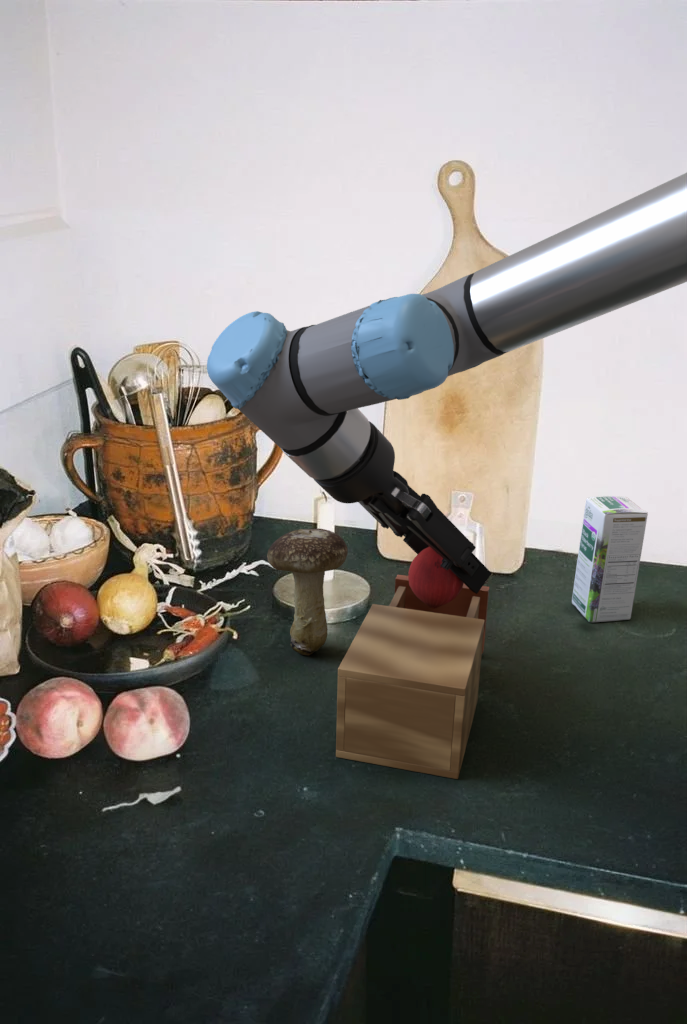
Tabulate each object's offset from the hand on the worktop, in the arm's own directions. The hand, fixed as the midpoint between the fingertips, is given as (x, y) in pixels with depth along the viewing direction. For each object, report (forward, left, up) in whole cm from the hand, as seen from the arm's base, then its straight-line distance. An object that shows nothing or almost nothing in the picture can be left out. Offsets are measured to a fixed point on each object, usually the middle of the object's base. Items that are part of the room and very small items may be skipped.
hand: (461, 571), depth 101 cm
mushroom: (+16, +3, -12) cm, 20 cm away
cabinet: (+2, +14, -11) cm, 18 cm away
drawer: (+2, +1, -10) cm, 11 cm away
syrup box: (-16, -18, -12) cm, 27 cm away
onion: (+2, +3, -4) cm, 5 cm away
